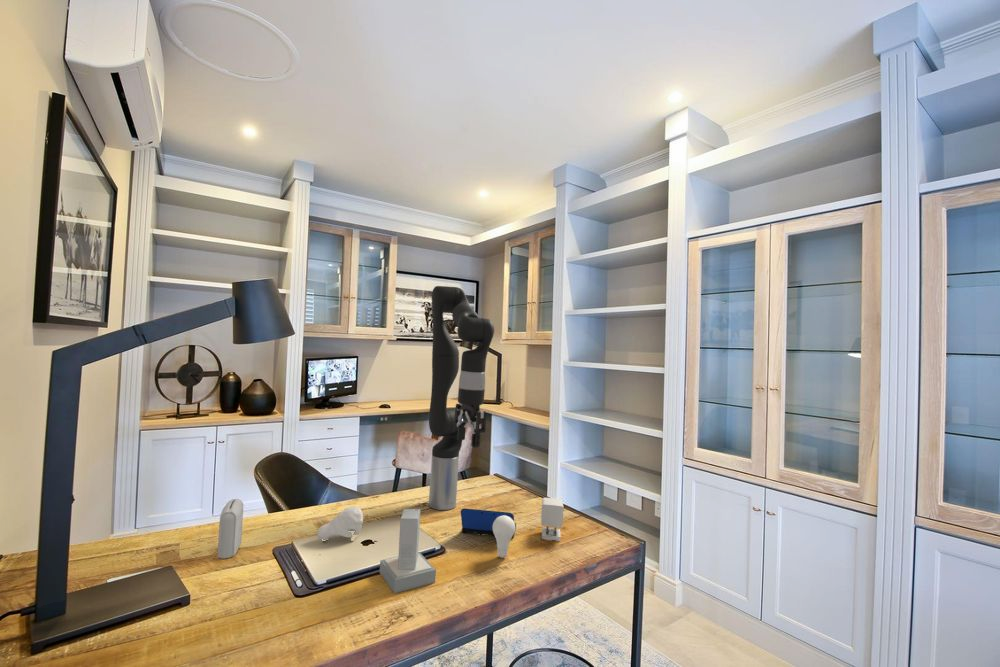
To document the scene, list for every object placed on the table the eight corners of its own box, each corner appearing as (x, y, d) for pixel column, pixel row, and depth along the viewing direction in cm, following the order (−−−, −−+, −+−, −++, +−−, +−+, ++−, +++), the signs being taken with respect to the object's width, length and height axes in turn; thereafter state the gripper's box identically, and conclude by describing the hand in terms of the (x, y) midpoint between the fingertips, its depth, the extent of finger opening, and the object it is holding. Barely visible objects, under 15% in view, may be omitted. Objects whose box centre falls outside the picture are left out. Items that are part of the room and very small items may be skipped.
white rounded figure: (364, 509, 126) (317, 519, 120) (365, 539, 126) (319, 551, 120) (360, 501, 131) (315, 510, 126) (361, 530, 131) (316, 540, 126)
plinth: (379, 572, 110) (380, 559, 110) (418, 563, 115) (419, 550, 115) (394, 593, 101) (395, 578, 101) (435, 582, 107) (435, 568, 107)
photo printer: (224, 541, 121) (227, 495, 121) (242, 540, 122) (245, 494, 122) (215, 560, 111) (218, 509, 111) (234, 558, 112) (238, 508, 112)
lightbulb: (516, 555, 123) (518, 514, 123) (509, 565, 117) (512, 522, 117) (495, 550, 125) (497, 510, 125) (487, 560, 119) (489, 518, 119)
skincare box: (400, 557, 111) (403, 508, 111) (418, 557, 111) (421, 508, 111) (396, 569, 105) (400, 518, 105) (415, 570, 105) (418, 518, 105)
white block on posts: (561, 531, 140) (562, 499, 140) (561, 541, 133) (563, 507, 133) (540, 529, 140) (542, 497, 140) (540, 539, 133) (542, 505, 133)
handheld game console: (516, 527, 142) (518, 497, 142) (512, 546, 128) (514, 513, 128) (467, 521, 144) (469, 492, 144) (458, 540, 130) (460, 507, 130)
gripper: (495, 390, 126) (491, 448, 126) (471, 383, 138) (467, 436, 138) (472, 390, 122) (468, 450, 122) (449, 383, 134) (445, 438, 134)
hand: (467, 443), depth 130 cm, fingers open, 8 cm apart
